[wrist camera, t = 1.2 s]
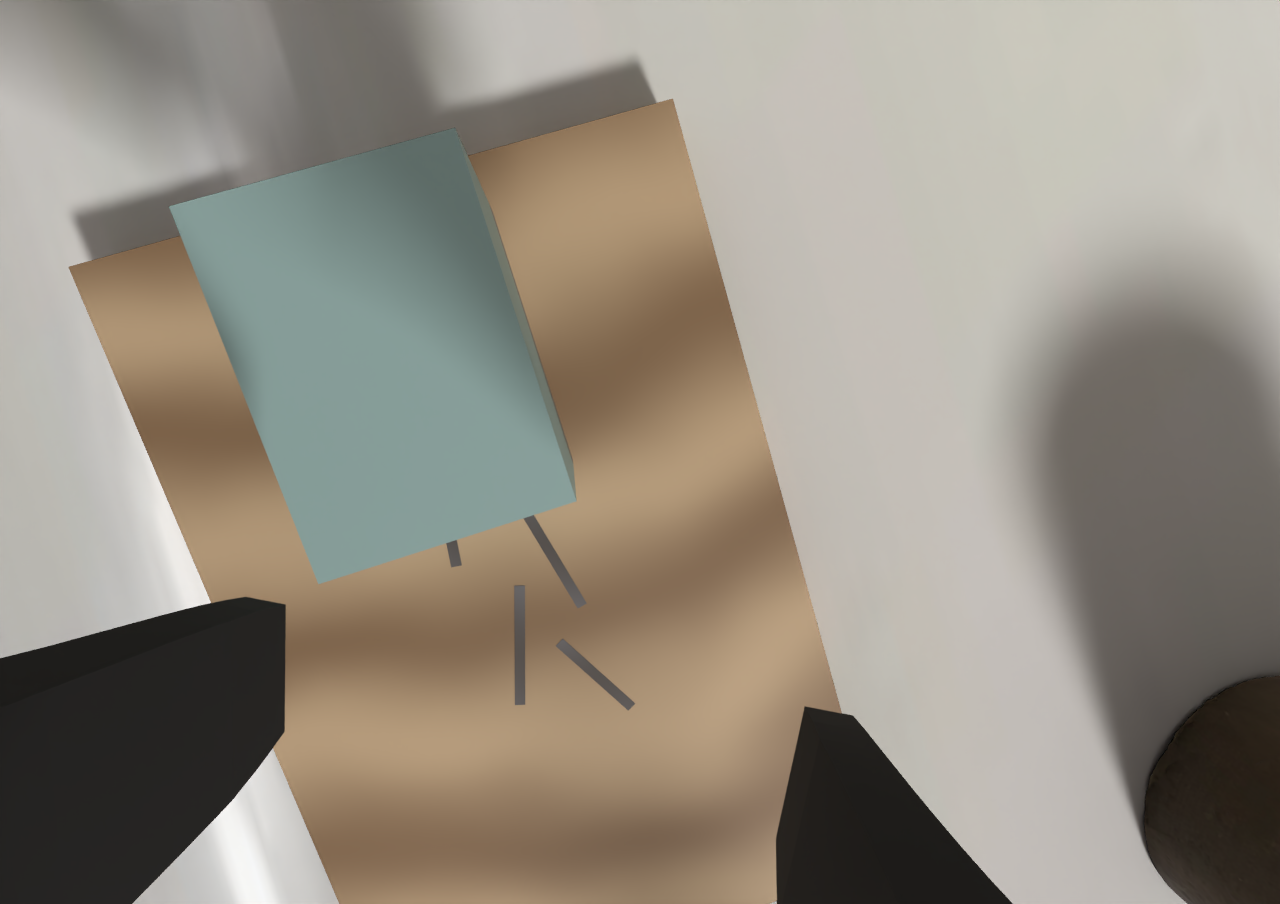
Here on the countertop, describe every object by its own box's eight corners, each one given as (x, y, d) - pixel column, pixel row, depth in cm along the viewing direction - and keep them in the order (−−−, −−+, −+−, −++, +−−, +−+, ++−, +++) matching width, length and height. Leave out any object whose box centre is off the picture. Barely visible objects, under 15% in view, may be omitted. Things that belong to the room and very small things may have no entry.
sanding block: (306, 264, 17) (168, 206, 11) (492, 211, 17) (455, 127, 11) (399, 515, 18) (318, 584, 12) (572, 459, 18) (576, 501, 12)
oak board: (109, 275, 18) (68, 267, 16) (664, 119, 19) (672, 98, 18) (410, 996, 21) (398, 1043, 20) (861, 828, 23) (882, 860, 21)
